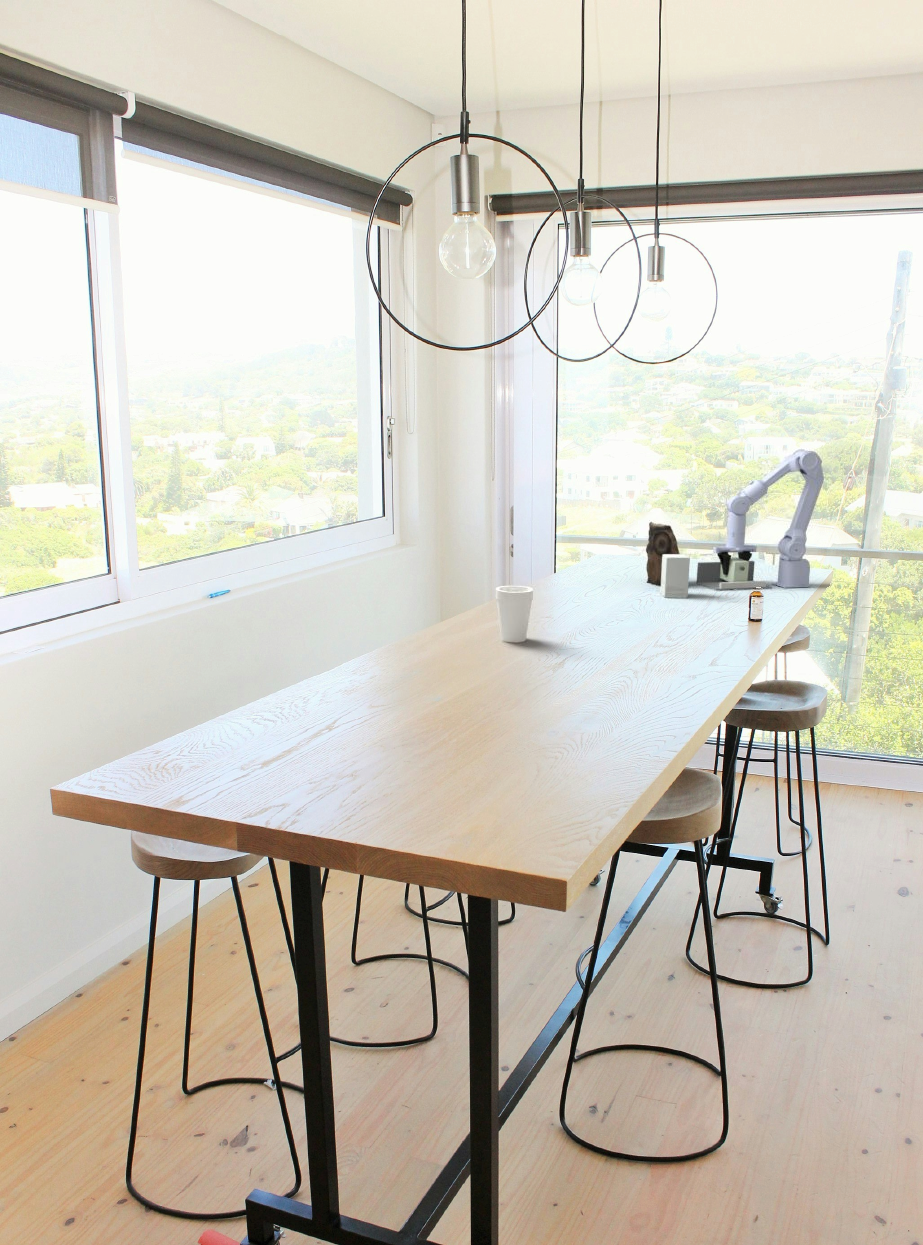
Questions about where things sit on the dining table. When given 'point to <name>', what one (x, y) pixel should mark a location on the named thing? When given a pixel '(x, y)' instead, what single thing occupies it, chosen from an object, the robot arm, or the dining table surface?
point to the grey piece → (711, 578)
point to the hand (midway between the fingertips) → (733, 574)
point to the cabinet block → (736, 570)
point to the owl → (659, 550)
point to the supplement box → (675, 575)
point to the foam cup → (514, 612)
